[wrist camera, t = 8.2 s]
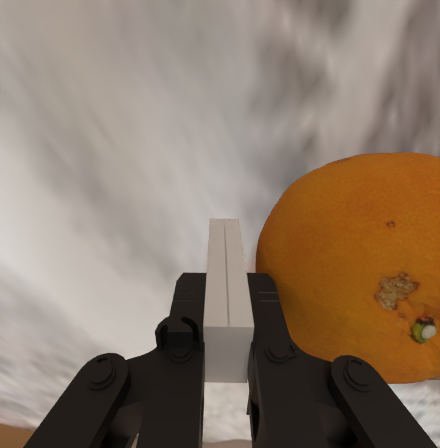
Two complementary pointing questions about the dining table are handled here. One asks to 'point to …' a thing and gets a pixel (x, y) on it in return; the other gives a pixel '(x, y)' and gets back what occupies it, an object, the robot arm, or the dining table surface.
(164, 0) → the dining table surface
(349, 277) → the fruit
